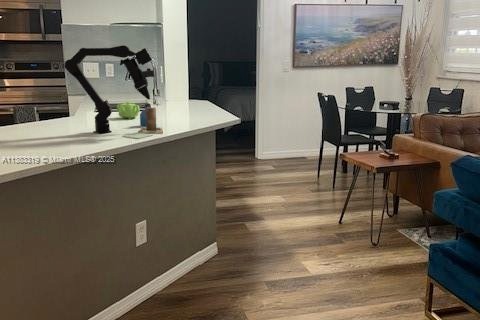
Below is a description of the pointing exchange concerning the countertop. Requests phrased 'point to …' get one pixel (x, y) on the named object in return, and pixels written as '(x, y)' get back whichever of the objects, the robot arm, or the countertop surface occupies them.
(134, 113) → the green cabbage
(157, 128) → the trap frame
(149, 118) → the walnut dowel
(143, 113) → the perfume bottle
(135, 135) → the pad
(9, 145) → the countertop surface
